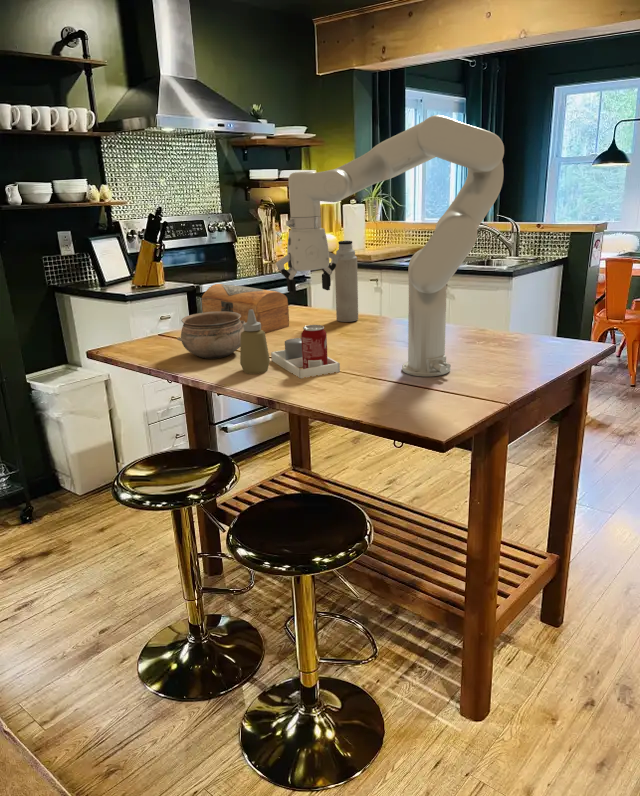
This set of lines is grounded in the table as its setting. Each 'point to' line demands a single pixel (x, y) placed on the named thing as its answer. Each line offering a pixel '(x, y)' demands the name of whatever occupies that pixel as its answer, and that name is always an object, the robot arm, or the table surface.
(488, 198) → the robot arm
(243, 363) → the squeeze bottle
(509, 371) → the table surface
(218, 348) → the cooking pot
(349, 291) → the thermos bottle
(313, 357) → the soda can
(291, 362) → the caddy
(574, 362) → the table surface
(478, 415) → the table surface
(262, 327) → the wooden box
